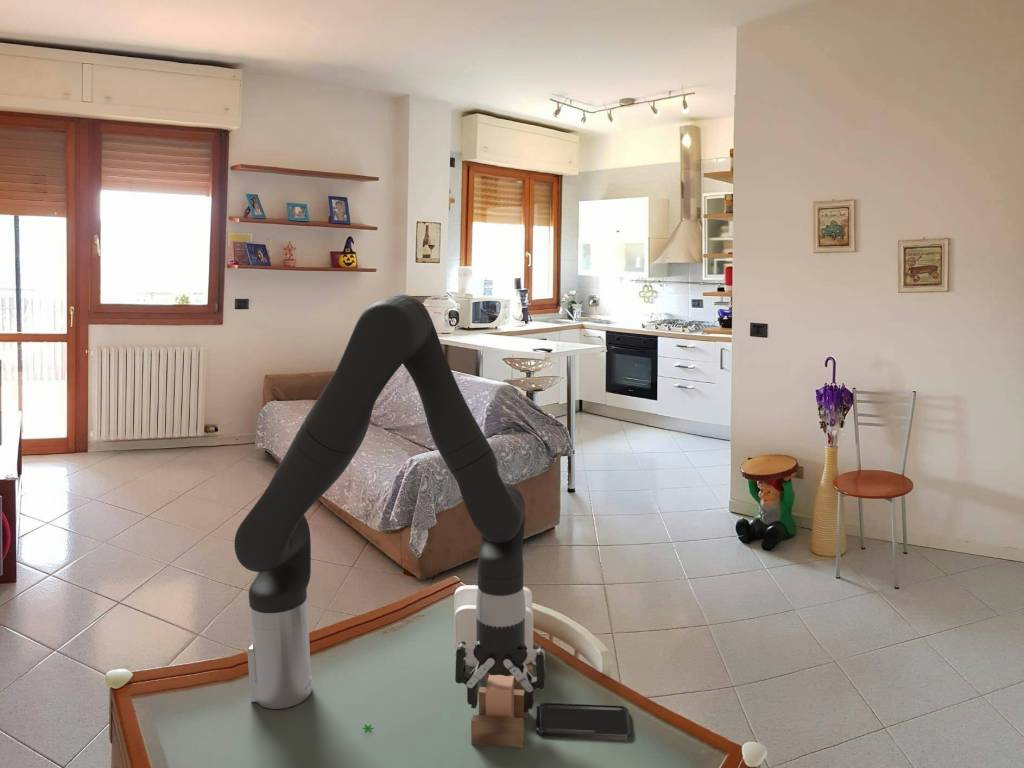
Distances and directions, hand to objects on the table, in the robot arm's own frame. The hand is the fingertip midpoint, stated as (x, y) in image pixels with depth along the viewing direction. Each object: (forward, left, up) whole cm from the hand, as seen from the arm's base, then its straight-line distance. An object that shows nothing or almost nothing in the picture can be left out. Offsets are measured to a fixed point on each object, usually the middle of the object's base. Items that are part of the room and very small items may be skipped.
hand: (500, 707), depth 123 cm
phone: (+13, +3, -4) cm, 14 cm away
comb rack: (0, +4, -4) cm, 5 cm away
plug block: (0, 0, -4) cm, 4 cm away
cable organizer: (-4, +22, -4) cm, 23 cm away
